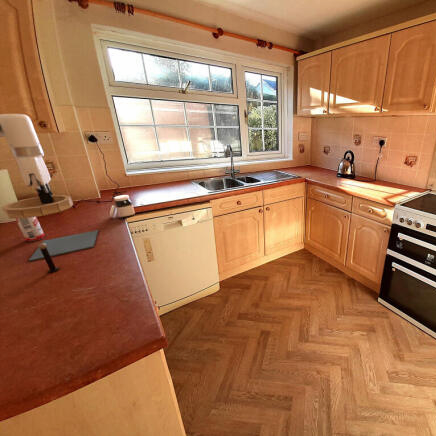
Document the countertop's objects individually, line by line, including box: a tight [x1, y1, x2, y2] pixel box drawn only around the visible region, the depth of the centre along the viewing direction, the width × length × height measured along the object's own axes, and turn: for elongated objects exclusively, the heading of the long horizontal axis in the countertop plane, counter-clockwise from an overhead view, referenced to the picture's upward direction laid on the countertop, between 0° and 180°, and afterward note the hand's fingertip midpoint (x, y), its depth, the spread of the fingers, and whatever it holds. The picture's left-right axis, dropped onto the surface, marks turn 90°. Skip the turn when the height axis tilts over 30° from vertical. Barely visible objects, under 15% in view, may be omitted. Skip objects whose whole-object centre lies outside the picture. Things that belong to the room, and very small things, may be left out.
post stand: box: [37, 242, 59, 274], centre depth 86 cm, size 3×3×11 cm
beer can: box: [14, 217, 45, 243], centre depth 110 cm, size 6×6×16 cm
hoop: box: [1, 194, 74, 219], centre depth 85 cm, size 17×17×3 cm
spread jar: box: [109, 194, 136, 220], centre depth 135 cm, size 12×11×12 cm
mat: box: [28, 229, 99, 262], centre depth 107 cm, size 20×20×1 cm
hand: (48, 202), depth 91 cm, fingers closed on hoop, 1 cm apart
